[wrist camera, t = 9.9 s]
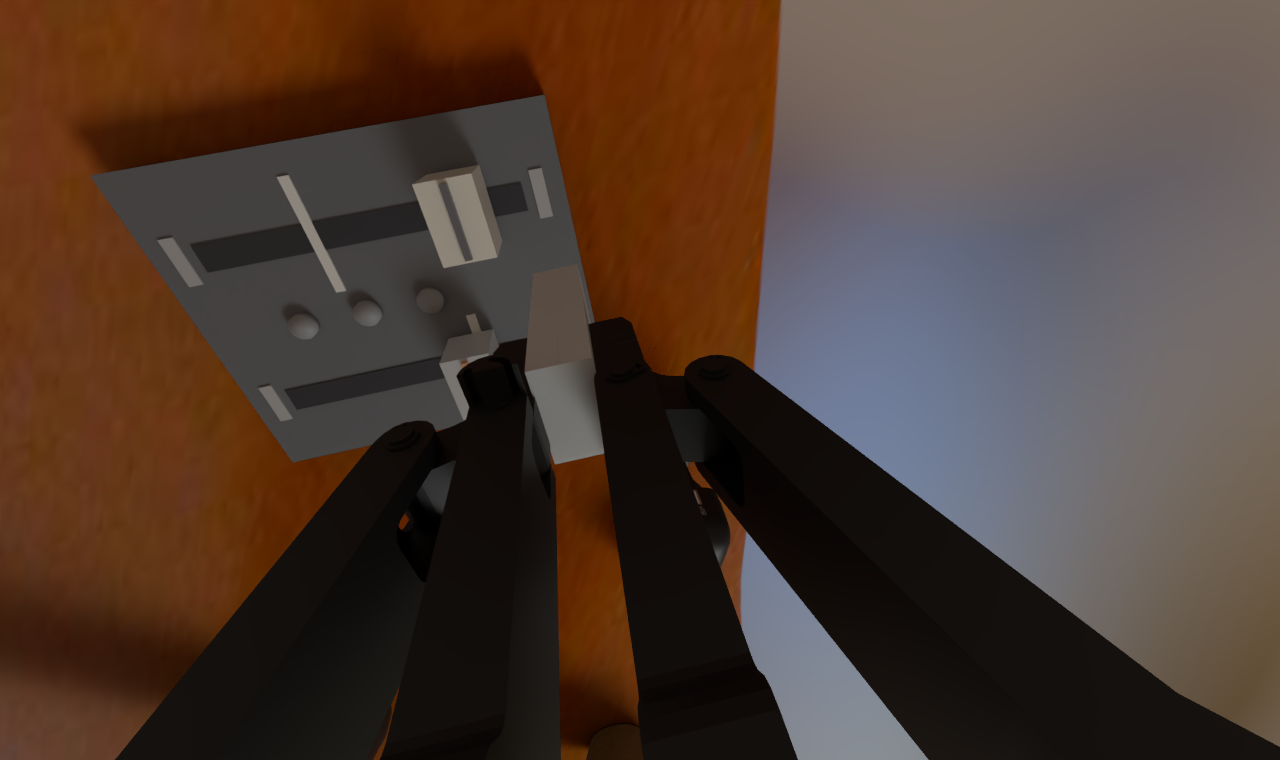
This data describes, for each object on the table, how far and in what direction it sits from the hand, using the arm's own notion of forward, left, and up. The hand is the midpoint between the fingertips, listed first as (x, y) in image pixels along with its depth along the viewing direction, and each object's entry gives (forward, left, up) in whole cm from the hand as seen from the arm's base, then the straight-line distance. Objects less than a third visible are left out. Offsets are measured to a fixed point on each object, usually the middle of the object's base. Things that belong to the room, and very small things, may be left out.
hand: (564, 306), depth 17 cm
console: (-11, -4, -18) cm, 21 cm away
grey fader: (-7, -9, -15) cm, 19 cm away
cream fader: (-5, +1, -15) cm, 16 cm away
